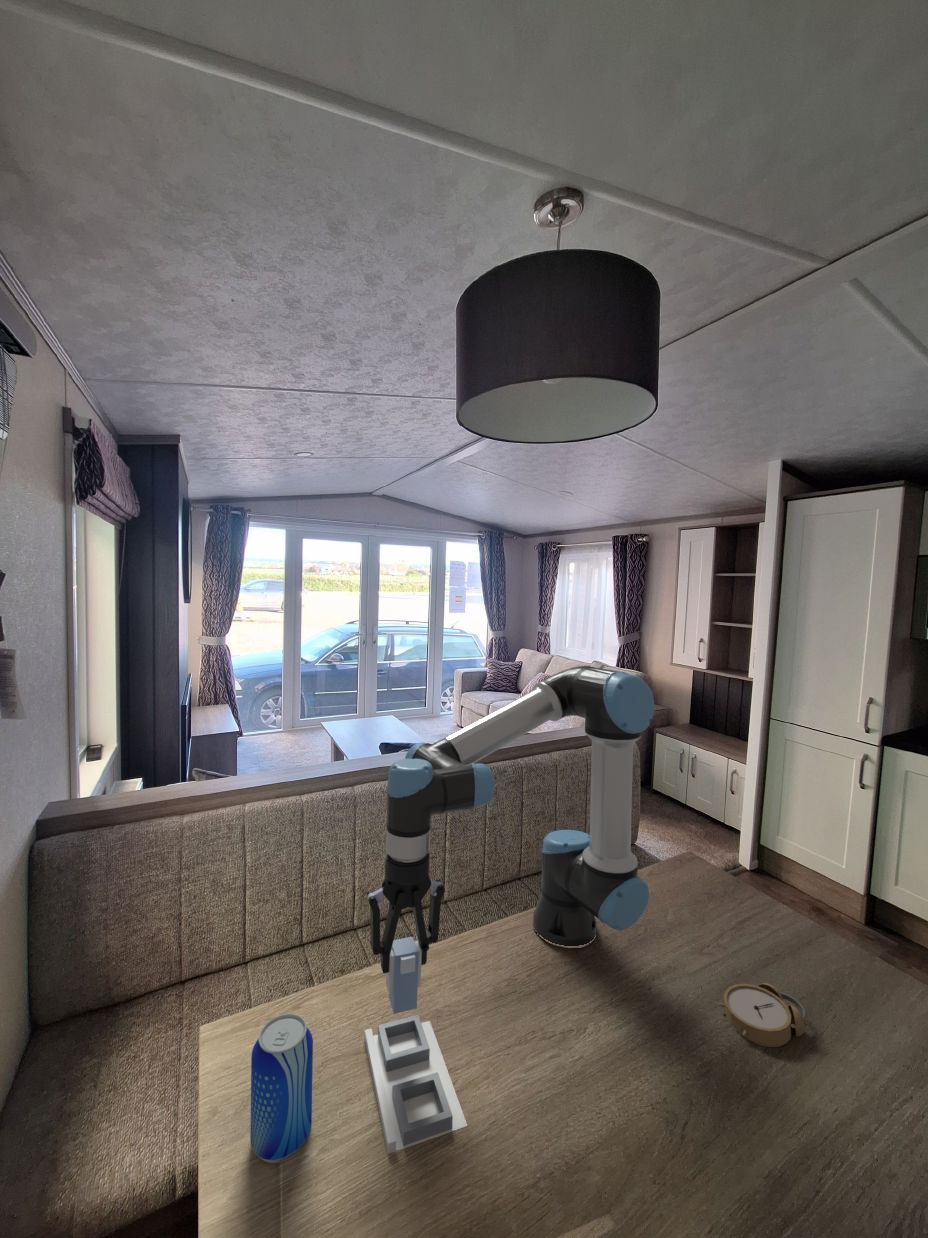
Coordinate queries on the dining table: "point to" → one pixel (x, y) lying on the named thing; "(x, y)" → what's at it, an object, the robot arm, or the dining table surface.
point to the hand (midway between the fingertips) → (403, 985)
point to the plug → (405, 975)
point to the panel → (411, 1083)
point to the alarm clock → (762, 1014)
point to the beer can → (281, 1088)
